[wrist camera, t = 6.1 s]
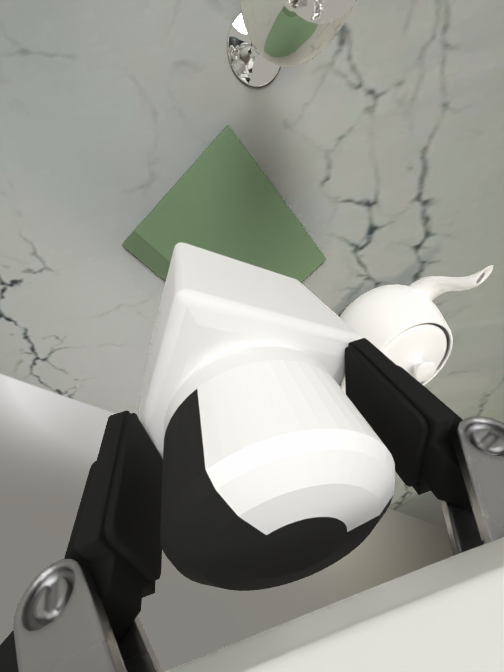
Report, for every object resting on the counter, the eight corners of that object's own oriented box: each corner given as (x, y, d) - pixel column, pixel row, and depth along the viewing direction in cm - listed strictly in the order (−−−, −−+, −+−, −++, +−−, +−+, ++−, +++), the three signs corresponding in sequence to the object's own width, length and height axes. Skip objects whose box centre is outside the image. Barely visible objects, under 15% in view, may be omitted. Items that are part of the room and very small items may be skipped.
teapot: (357, 393, 45) (404, 450, 36) (288, 370, 39) (323, 430, 30) (458, 269, 37) (549, 301, 28) (390, 218, 32) (477, 237, 23)
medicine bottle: (255, 376, 19) (344, 601, 9) (146, 357, 17) (102, 644, 7) (299, 279, 16) (497, 450, 6) (175, 238, 14) (179, 419, 4)
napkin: (122, 244, 27) (121, 245, 26) (227, 125, 24) (228, 124, 24) (236, 339, 35) (237, 341, 34) (325, 258, 32) (326, 259, 32)
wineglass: (264, 114, 24) (327, 73, 14) (204, 59, 22) (230, -40, 12) (304, 40, 23) (410, -67, 12) (245, -29, 20) (317, -236, 10)
